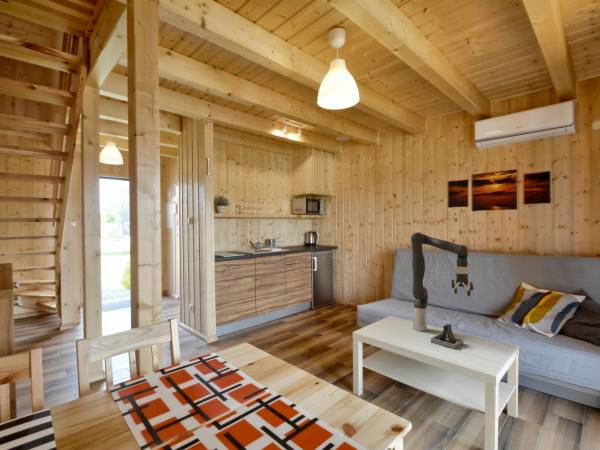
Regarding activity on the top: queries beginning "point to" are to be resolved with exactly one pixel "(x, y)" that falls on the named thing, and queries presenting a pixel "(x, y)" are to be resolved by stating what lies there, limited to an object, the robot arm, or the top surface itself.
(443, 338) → the phone stand
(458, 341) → the tray
